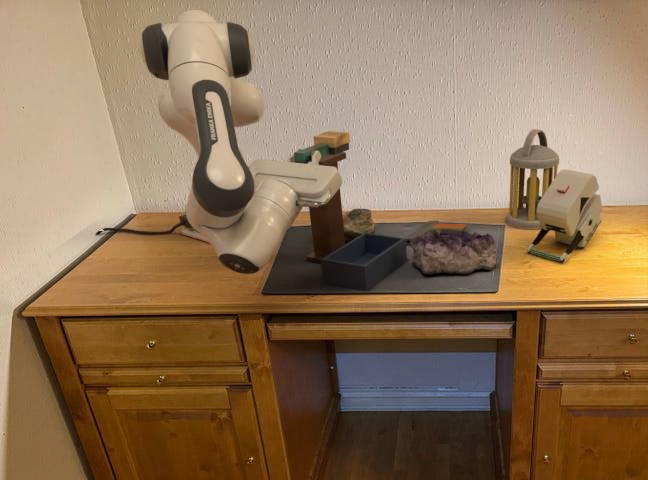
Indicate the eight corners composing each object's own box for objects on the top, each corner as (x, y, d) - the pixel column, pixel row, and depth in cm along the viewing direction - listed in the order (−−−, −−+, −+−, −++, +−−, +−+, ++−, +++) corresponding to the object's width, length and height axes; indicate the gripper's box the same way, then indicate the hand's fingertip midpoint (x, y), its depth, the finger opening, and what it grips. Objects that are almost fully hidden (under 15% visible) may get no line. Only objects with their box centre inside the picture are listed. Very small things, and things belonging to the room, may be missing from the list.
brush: (310, 165, 128) (307, 147, 127) (289, 163, 130) (286, 145, 129) (350, 149, 140) (349, 132, 138) (331, 147, 142) (329, 130, 140)
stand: (306, 261, 163) (293, 159, 151) (328, 247, 171) (317, 149, 159) (333, 265, 160) (322, 162, 148) (354, 252, 168) (345, 152, 156)
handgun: (447, 249, 168) (405, 244, 172) (468, 230, 181) (428, 225, 185) (447, 243, 167) (404, 238, 171) (468, 223, 180) (427, 219, 184)
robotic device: (538, 274, 171) (514, 225, 156) (578, 212, 176) (559, 158, 161) (572, 285, 165) (551, 234, 150) (613, 220, 170) (597, 165, 154)
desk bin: (323, 282, 151) (320, 259, 148) (366, 254, 167) (365, 232, 164) (366, 290, 147) (364, 266, 144) (407, 260, 162) (406, 238, 159)
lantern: (521, 210, 194) (525, 122, 182) (565, 218, 187) (572, 127, 175) (496, 223, 185) (499, 131, 172) (541, 232, 177) (547, 137, 165)
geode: (490, 256, 164) (494, 219, 157) (499, 279, 154) (503, 241, 148) (409, 258, 161) (409, 220, 155) (413, 282, 152) (414, 243, 146)
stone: (371, 236, 168) (345, 205, 167) (345, 260, 173) (320, 230, 171) (389, 224, 180) (365, 195, 178) (365, 247, 184) (341, 219, 183)
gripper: (316, 196, 119) (348, 143, 125) (228, 185, 127) (262, 136, 133) (329, 220, 124) (359, 168, 130) (244, 208, 132) (276, 160, 138)
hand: (309, 152), depth 131 cm, fingers closed on brush, 2 cm apart
